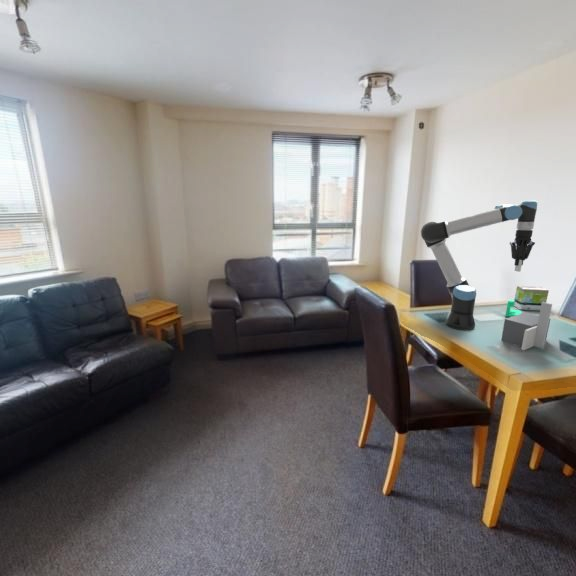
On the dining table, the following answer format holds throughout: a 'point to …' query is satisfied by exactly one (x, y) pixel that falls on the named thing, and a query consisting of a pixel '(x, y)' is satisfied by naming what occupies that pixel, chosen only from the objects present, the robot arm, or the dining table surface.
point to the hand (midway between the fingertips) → (517, 271)
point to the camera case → (519, 327)
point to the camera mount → (509, 311)
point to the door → (538, 329)
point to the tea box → (530, 297)
